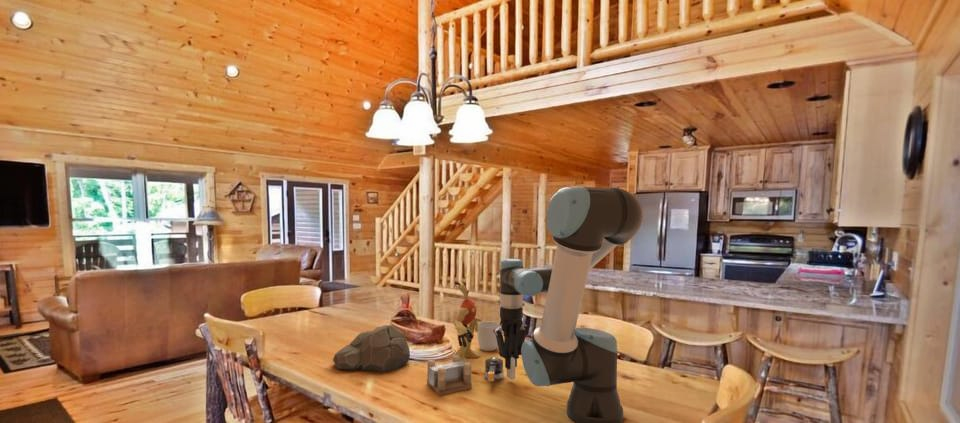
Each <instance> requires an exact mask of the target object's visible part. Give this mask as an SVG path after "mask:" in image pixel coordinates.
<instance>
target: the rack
mask: <svg viewBox="0 0 960 423" xmlns="http://www.w3.org/2000/svg"><path fill="white" fill-rule="evenodd" d="M457 361H460V356H458V355H456V354H454V355H452V362H457ZM452 362H451V363H452ZM431 366H436V360H434V359H428V360H427V377H426V378H427V379H426V385H427V386H428V387H430V388H431V389H432V390H433V391H434V392H435V393H436V394H438V395H439V396H444V395H449V394H452V393H458V392H461V391H465V390H469V389H472V388H473V387H472V386H473V384H472V363H471V362H469V363H464V381H460V382H456V383H451V384H447V385H446V369H445V368H439V369H438V386H437V387H433V386H432V385H431V384H430V383H429V367H431Z"/></svg>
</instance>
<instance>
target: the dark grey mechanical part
mask: <svg viewBox="0 0 960 423" xmlns="http://www.w3.org/2000/svg"><path fill="white" fill-rule="evenodd" d="M484 363H485V365H484V367H485V369H484V372H485V371H486V372H488V380H487V381H488V382H495V381H494V378H495V375H496V374H497V373H501V372H503V371H504V360H502V359H501V358H498V357H497V356H491V357H490V358H487V359H485V362H484Z"/></svg>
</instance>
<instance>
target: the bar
mask: <svg viewBox="0 0 960 423" xmlns="http://www.w3.org/2000/svg"><path fill="white" fill-rule="evenodd" d="M464 363H466V362H464V361H463V360H462V361H457V362H448V363H443V364H435V366H431V367H429V383H430V384H431V385H432V386H433V387H437V386H438V369H439V368H445V369H446V385H447V384H451V383H456V382H460V381H464Z"/></svg>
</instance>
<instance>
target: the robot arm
mask: <svg viewBox="0 0 960 423" xmlns="http://www.w3.org/2000/svg"><path fill="white" fill-rule="evenodd" d="M643 217H644V216H643V208H642V205H641V203H640V201H639V200H638V199H637V197H636V195H634V194H633V193H631V192H630V191H628V190H626V189H624V188H620V187H594V186H593V187H591V186H582V185H578V186H567V187H562V188H560V189H559V190H558V191H556V192H555V193H554V194H553V195H552V197H551V198H550V201H549V202H548V206H547V209H546V217H545V219H546V220H547V222H546V228H547V231H548V233H550V234H551V236H552V237H551V239H552V241H553V242H554V244H555V245H556V248H555V254H554V259H553V263H552V267H544V268H524V267H525V266H524V262H523V259H520V258H504V259H502V260H501V261H500V267H499V297H500V298H499V305H500V307H499V318H500V320H499V321H500V322H499V325H500V326H499V327H498V328H497V329H494V330H493V332H494V333H495V335H496V339H497V344H498V346H497V348H498V354H499V356H500V357H501V358H503V359H504V362H505V363H504V367H505V369H506V378H508V379H509V380H515V379H516V368H517V367H518V360H519V358H520V356H521V361H522V365H523V368H524V372H525V375H526V377H527V379H529V381H530V383H531V384H533V385H534V386H536V387H550V386H555V385H563V384H568V383H573V384H572V388H571V389H570V393H569V397H568V399H567V402H566V414H567V416H568V417H569V419H571V420H572V421H573V422H575V423H623V421H624V408H623V406H622V405H621V399H620V396H619V392H618V387H617V386H618V385H617V384H618V377H617V376H618V352H619V351H618V344H617V343H618V341H617V338H616V337H615V336H614V335H612V334H611V333H609V332H607V331H604V330H600V329H595V328H590V327H577V323H578V318H579V314H580V309H581V307H582V306H581V305H582V302H583V297H584V293H585V288H586V285H587V281H588V276H589V271H590V270H591V269H592V268H594V267H595V266H596V265H597V264H598V263H599V262H601V260H602V259H604V258H605V257H606V256H607V255H608V254H610V253H611V252H612V251H613V250H614V249H615V248H616V247H617V246H623V245H625V244H626V243H628V242H629V241H630V240H631V239H632V238H633V237H635V235H636V234H637V233H638V232H639V230H640V229H641V227H642V223H643ZM545 293H546V298H545V304H544V310H543V314H542V319H541V324H539V325H538V326H537V327H535V329H534V330H533V334H532V338H531V339H527V340H526V335H527V332H528V330H529V325H527V324H524V321H523V316H524V312H523V311H524V309H523V308H524V307H523V305H524V303H523V302H524V296H525V297H534V296H537V295H538V294H545Z"/></svg>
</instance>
